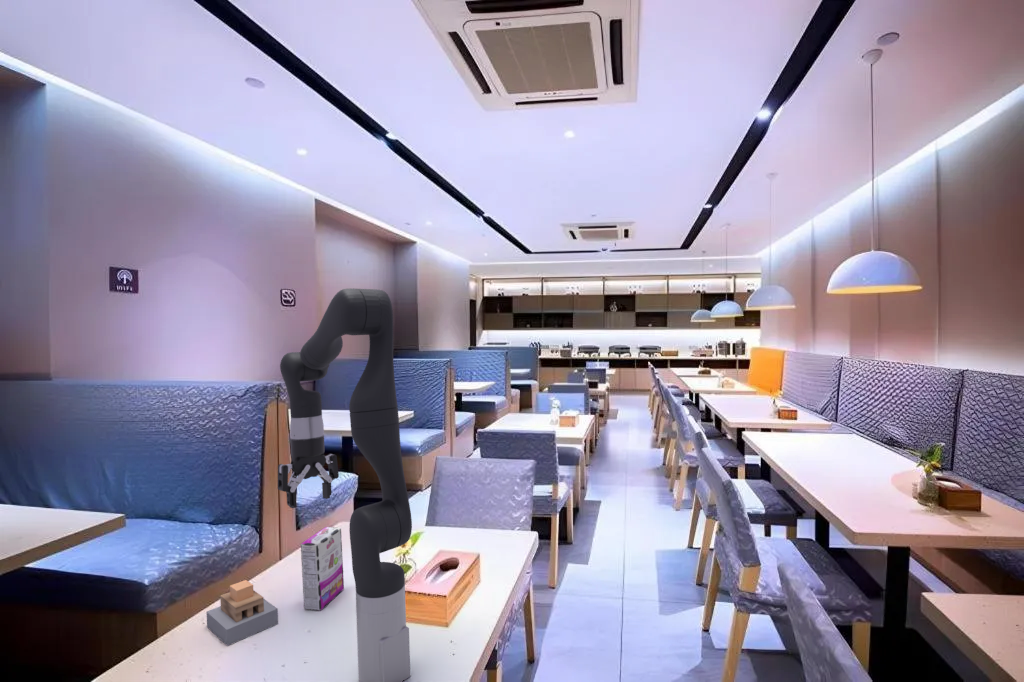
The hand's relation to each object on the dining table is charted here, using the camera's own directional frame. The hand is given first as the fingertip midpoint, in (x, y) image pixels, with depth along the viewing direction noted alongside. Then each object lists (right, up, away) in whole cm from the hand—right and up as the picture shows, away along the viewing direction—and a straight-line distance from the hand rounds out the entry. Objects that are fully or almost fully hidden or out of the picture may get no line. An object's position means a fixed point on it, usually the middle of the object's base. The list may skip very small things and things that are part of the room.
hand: (310, 502), depth 124 cm
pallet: (-14, -23, -4) cm, 28 cm away
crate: (-14, -20, -4) cm, 25 cm away
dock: (-14, -27, -4) cm, 31 cm away
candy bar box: (+1, -27, +7) cm, 27 cm away
